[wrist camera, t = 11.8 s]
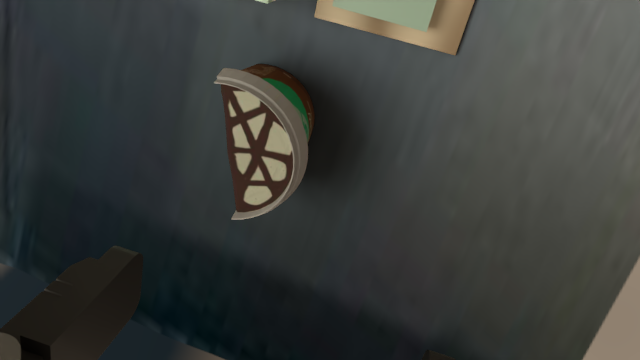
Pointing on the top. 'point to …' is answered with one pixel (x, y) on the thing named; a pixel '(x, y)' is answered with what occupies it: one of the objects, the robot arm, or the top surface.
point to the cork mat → (439, 35)
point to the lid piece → (393, 11)
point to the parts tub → (266, 1)
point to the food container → (265, 135)
